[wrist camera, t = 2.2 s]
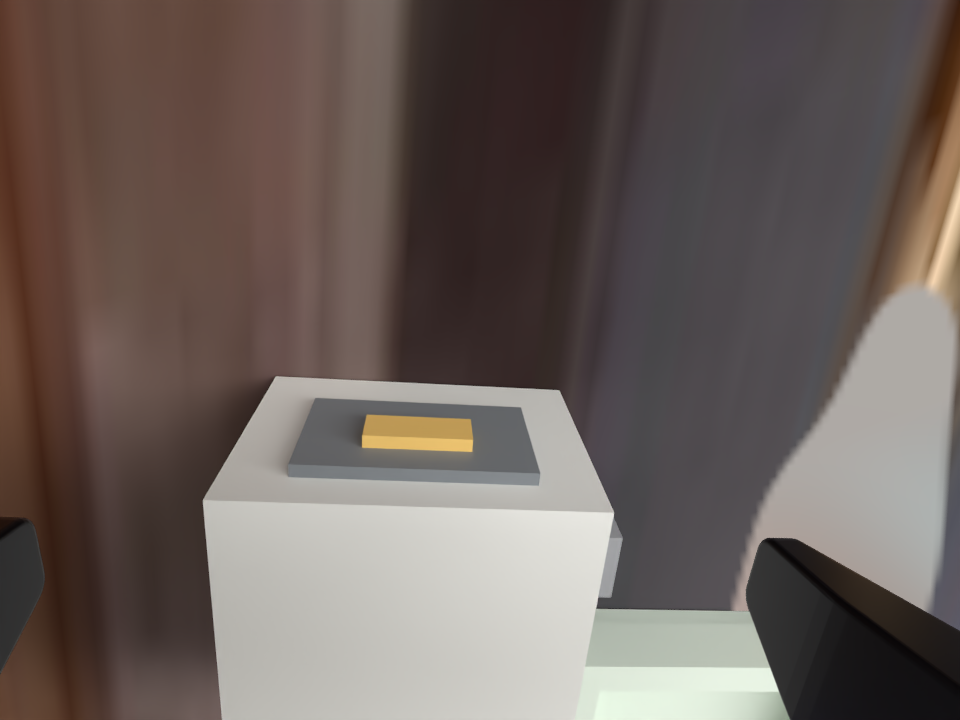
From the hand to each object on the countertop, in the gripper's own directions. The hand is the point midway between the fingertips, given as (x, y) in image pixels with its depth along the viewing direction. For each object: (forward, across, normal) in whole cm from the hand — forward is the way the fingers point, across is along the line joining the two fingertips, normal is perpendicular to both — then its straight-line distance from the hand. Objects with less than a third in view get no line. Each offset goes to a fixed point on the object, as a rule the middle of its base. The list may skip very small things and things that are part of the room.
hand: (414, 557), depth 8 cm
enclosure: (+10, 0, +6) cm, 12 cm away
